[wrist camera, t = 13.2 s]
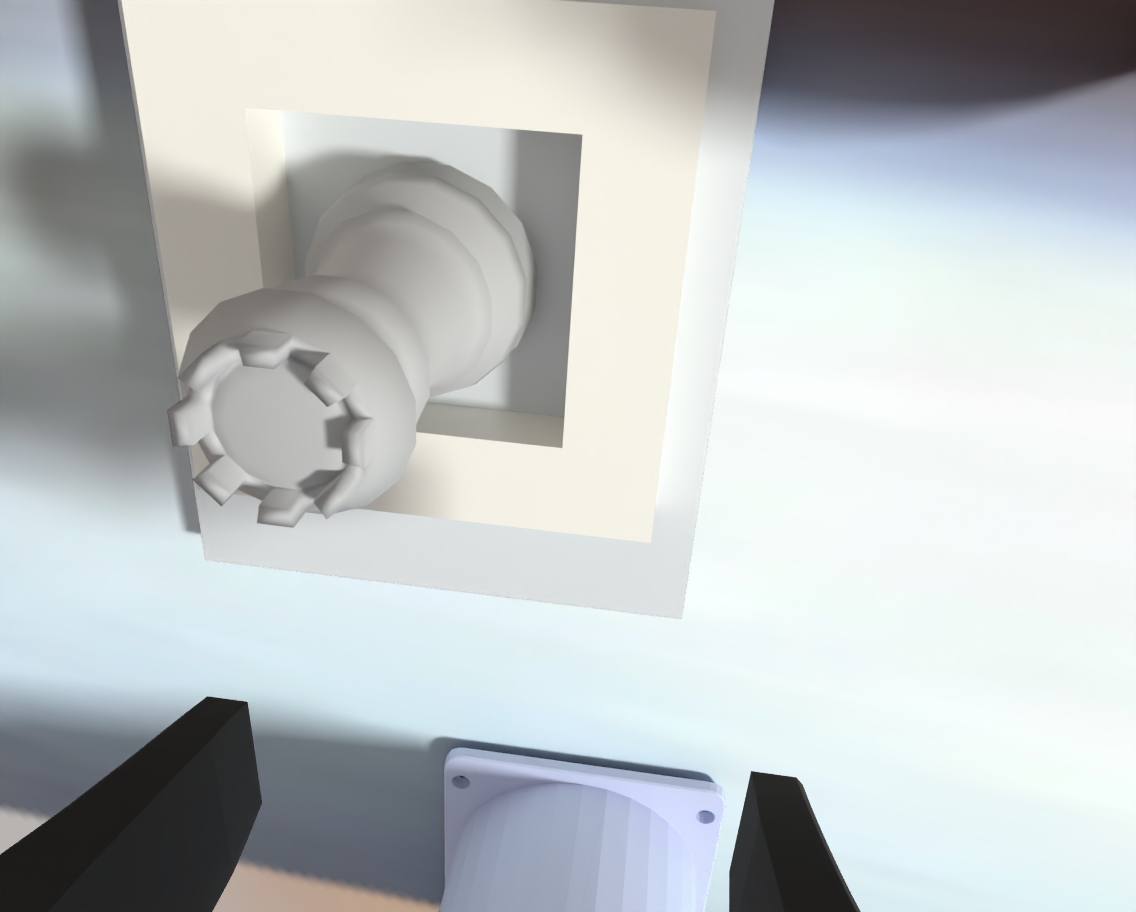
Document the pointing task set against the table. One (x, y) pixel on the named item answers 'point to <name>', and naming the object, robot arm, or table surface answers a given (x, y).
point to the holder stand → (555, 233)
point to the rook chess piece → (355, 343)
